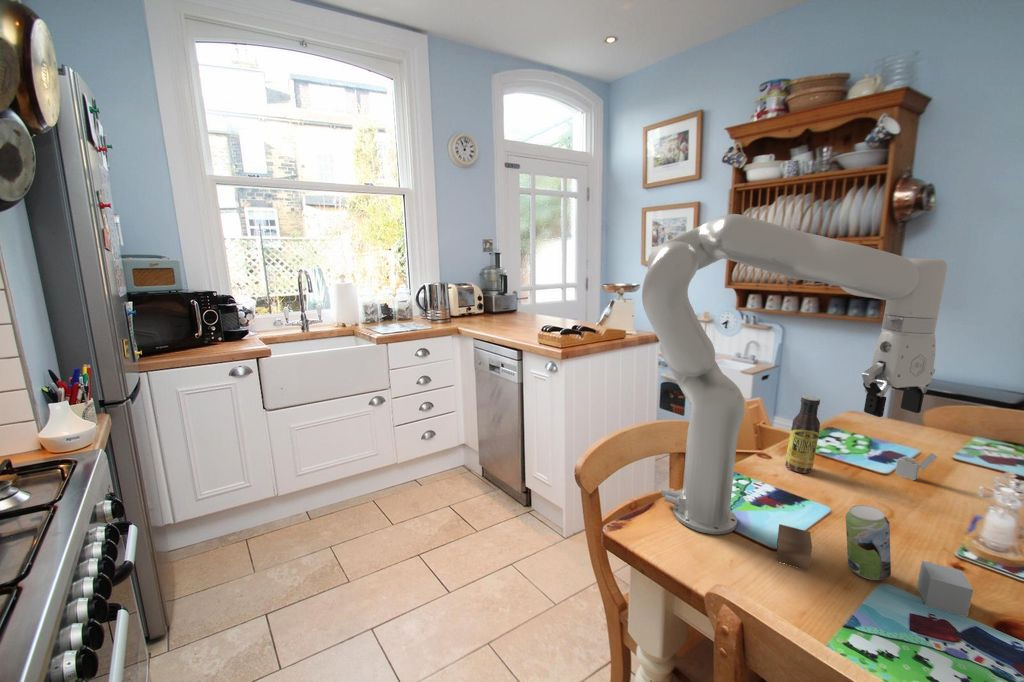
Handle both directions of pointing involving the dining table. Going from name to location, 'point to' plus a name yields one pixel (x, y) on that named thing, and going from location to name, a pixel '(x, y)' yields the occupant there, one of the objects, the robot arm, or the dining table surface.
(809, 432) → the sauce bottle
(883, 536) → the beverage can
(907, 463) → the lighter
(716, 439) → the robot arm
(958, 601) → the slate grey block
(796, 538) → the walnut block
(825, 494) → the dining table surface
